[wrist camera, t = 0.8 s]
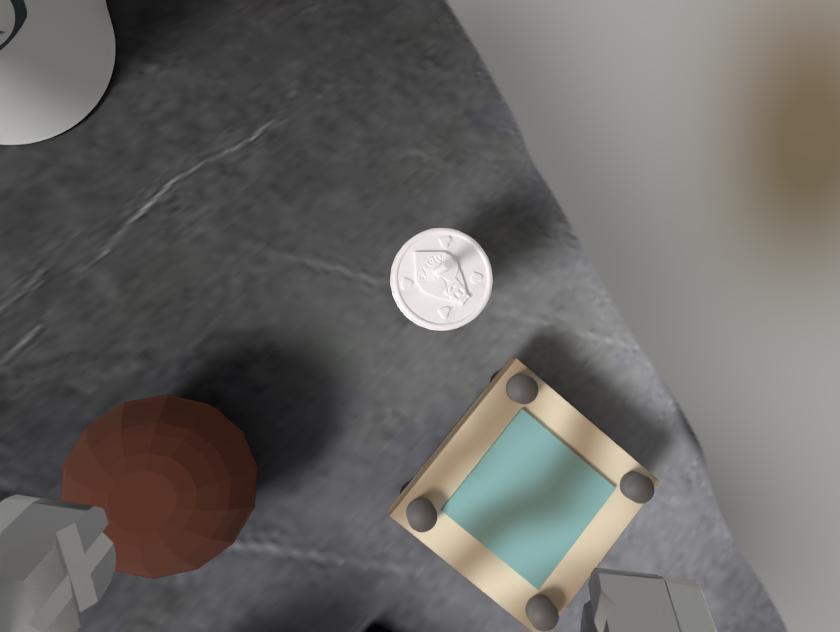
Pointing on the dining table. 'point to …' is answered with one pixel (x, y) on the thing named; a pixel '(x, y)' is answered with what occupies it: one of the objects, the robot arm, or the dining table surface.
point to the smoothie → (441, 279)
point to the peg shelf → (524, 497)
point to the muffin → (164, 482)
